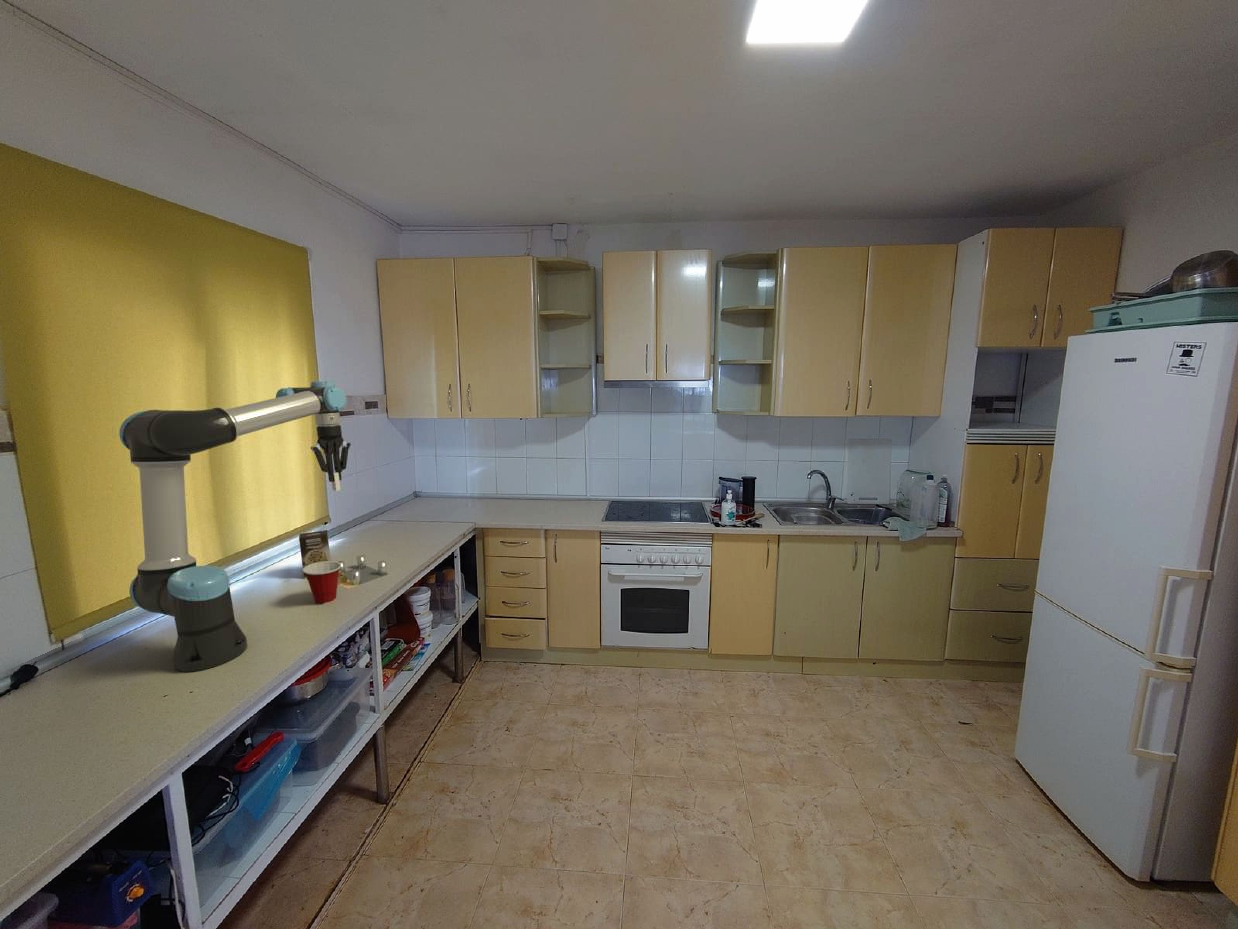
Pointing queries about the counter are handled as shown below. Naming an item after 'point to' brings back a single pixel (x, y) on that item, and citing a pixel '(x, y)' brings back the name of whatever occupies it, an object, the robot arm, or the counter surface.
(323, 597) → the plastic cup
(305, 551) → the coffee box
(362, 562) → the ball
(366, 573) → the mat
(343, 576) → the tan faceted flat piece
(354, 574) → the spacer
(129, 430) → the robot arm
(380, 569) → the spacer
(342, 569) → the spacer
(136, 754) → the counter surface
